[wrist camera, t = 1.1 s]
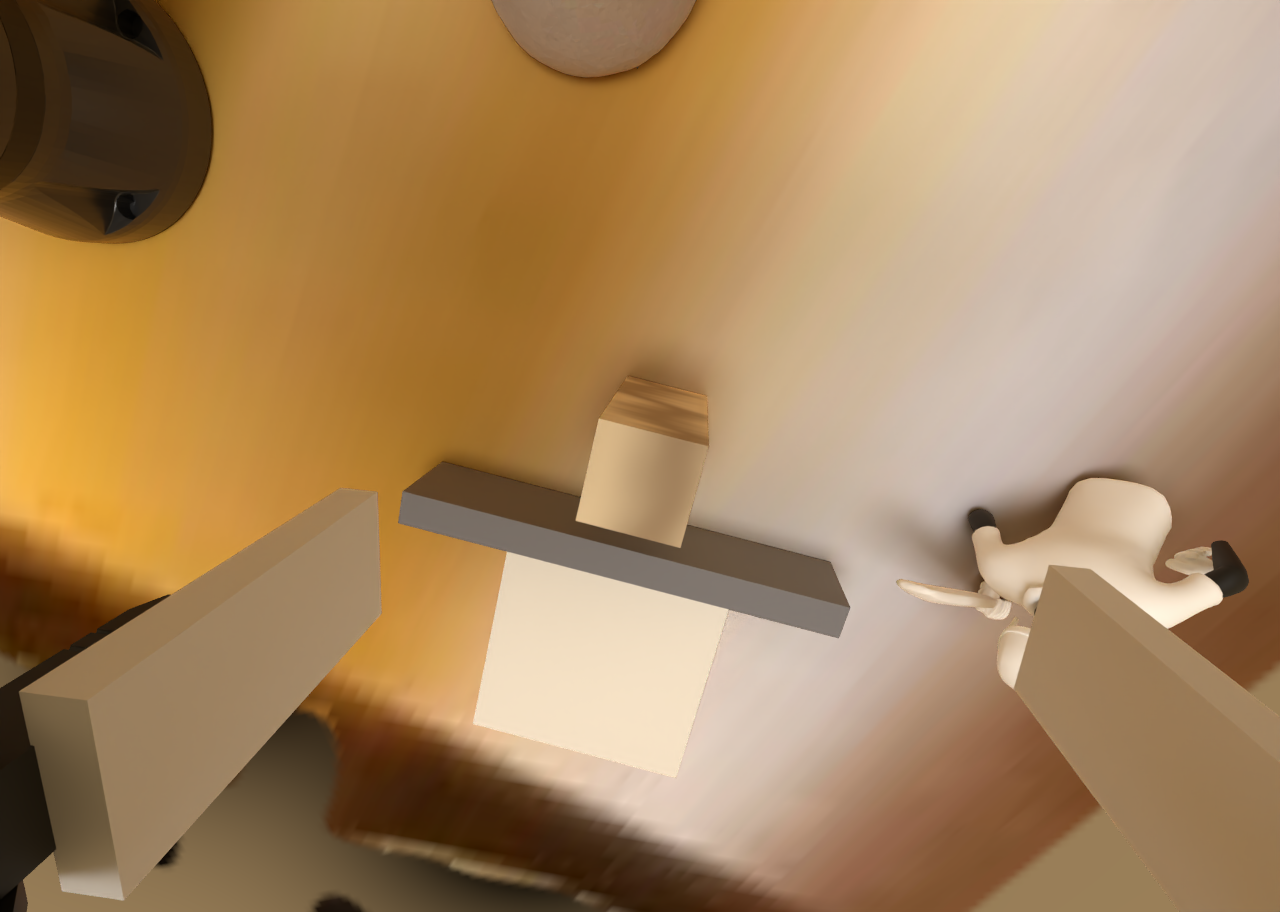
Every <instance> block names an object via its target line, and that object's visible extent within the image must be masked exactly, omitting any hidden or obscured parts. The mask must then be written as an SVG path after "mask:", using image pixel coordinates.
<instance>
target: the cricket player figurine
mask: <svg viewBox="0 0 1280 912" xmlns="http://www.w3.org/2000/svg"><path fill="white" fill-rule="evenodd" d="M969 522H970V525H971V527H972V529H973V531H974V533H973V535H972V541H973V544H974V548H975V553H976V559H977V564H978V568H979V571H980V574H981V576H982V577H983V579H984V580H985V581H983V582H981V585H980V590H978V593H976V592H970V591H964V590H958V589H952V588H946V587H940V586H934V585H928V584H922V583H917V582H913V581H909V580H903V579H899V580H897V581H896V582H897V584H898V586H899V587H900V588H901V589H903V590H904V591H905V592H907V593H909V594H911V595H914V596H916V597H918V598H920V599H923V600H925V601H928V602H932V603H937V604H946V605H955V606H966V607H975V608H976V610H978V611H980V612H982V613H983V614H984V615H985V616H986V617H988V618H992V619H997V620H999V619H1004V618H1006V617H1007V616H1008V614H1009V612H1010V609H1011V602H1014V603H1016V604H1018V605H1021V606H1023V607H1024V608H1025V609H1026V611H1027V612H1029V613H1030V614H1031V615H1032V616H1033V617H1034V615H1035V612H1036V608H1037V605H1038V601H1039V598H1040V594H1041V591H1042V587H1043V584H1044V580H1045V577H1046V573H1047V570H1048V566H1049V565H1058V566H1068V567H1077V568H1086V569H1091V570H1093V571H1094V572H1095V573H1096V574H1098V575H1099V576H1100V577H1102V578H1103V579H1104V580H1105V581H1107V582H1108V583H1109V584H1110V585H1112V586H1113V587H1114V588H1116V589H1117V590H1118V591H1119V592H1121V593H1122V594H1123V595H1125V596H1126V597H1127V598H1128V599H1130V600H1131V601H1132V602H1134V603H1135V604H1136V605H1137V606H1139V607H1140V608H1141V609H1143V610H1144V611H1145V612H1146V613H1148V614H1149V615H1150V616H1151V617H1153V618H1154V619H1155V620H1157V621H1158V622H1159V623H1160V624H1162V625H1163V626H1164V627H1166V628H1167V629H1168V628H1170V627H1173V626H1174V625H1176V624H1178V623H1180V622H1182V621H1184V620H1186V619H1188V618H1189V617H1191V616H1193V615H1195V614H1197V613H1199V612H1201V611H1203V610H1205V609H1207V608H1209V607H1212V606H1214V605H1218V604H1219V603H1220V602H1221V601H1222V599H1223V598H1224V597H1228V596H1231V595H1234V594H1237V593H1239V592H1241V591H1243V590H1244V589H1245V588H1246V587H1247V586H1248V583H1249V579H1248V575H1247V571H1246V569H1245V567H1244V566H1243V564H1242V563H1241V561H1240V559H1239V558H1238V556H1237V555H1236V554H1235V552H1234V551H1233V549H1232V548H1231V546H1230V545H1229V544H1228V542H1226V541H1215V542H1213V543H1212V544H1211V548H1209V547H1200V548H1195V549H1190V550H1186V551H1184V552H1179V553H1177V554H1175V555H1174V558H1175V559H1169V560H1167V562H1166V566H1167V567H1168V568H1171V569H1173V570H1176V571H1178V572H1181V573H1184V574H1187V575H1189V576H1188V577H1187V578H1185V579H1183V580H1182V581H1179V582H1176V583H1171V584H1168V583H1163V582H1160V581H1157V580H1155V578H1154V574H1153V565H1154V563H1155V561H1156V558H1157V556H1158V554H1159V551H1160V549H1161V547H1162V545H1163V543H1164V541H1165V538H1166V535H1167V534H1168V532H1169V531H1170V529H1171V526H1172V515H1171V510H1170V507H1169V505H1168V503H1167V501H1166V499H1165V497H1164V496H1163V495H1162V494H1160V493H1159V492H1157V491H1156V490H1155V489H1153V488H1151V487H1148V486H1145V485H1142V484H1139V483H1134V482H1128V481H1123V480H1116V479H1108V478H1089V479H1086V480H1082V481H1079V482H1077V483H1076V484H1075V485H1074V486H1073V488H1072V489H1071V490H1070V491H1069V493H1068V496H1067V498H1066V500H1065V502H1064V504H1063V506H1062V508H1061V510H1060V512H1059V513H1058V515H1057V517H1056V518H1055V520H1054V523H1053V524H1052V525H1051V527H1050V528H1048V529H1046V530H1044V531H1042V532H1041V533H1040V534H1038V535H1036V536H1033V537H1030V538H1027V539H1026V540H1024V541H1022V542H1019V543H1015V544H1010V545H1005V544H1003V543H1002V540H1001V537H1000V532H999V530H998V529H997V528H996V524H995V520H994V517H993V515H992V514H991V513H990V512H988V511H986V510H976V511H974V512H972V513H971V514H970V515H969ZM1211 555H1212V560H1210V559H1209V558H1207V557H1206V556H1211ZM1000 596H1001V597H1003V598H1004V599H1006V600H1001V599H1000ZM1007 600H1009V601H1011V602H1009V601H1007ZM1018 622H1019V619H1018V618H1017V617H1014V619H1013V620H1012V622H1011V623H1010V625H1009V627H1007V628H1005V629H1004V630H1003V632H1002V634H1001V636H1000V637H999V640H998V646H997V649H998V655H997V669H998V672H999V675H1000V677H1001V678H1002V680H1003V681H1004V682H1005V683H1006V684H1007V685H1008V686H1010V687H1011V688H1012V689H1014V686H1015V682H1016V679H1017V675H1018V672H1019V668H1020V665H1021V661H1022V658H1023V654H1024V651H1025V647H1026V644H1027V640H1028V637H1029V633H1030V630H1031V628H1027V627H1023V626H1017V624H1018Z"/></svg>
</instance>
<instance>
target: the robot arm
mask: <svg viewBox="0 0 1280 912" xmlns="http://www.w3.org/2000/svg"><path fill="white" fill-rule="evenodd" d="M211 133H212V128H211V114H210V107H209V101H208V96H207V92H206V88H205V84H204V81H203V78H202V75H201V72H200V69H199V67H198V64H197V62H196V60H195V57H194V55H193V53H192V51H191V49H190V47H189V45H188V44H187V42H186V40H185V38H184V37H183V35H182V34H181V32H180V31H179V29H178V28H177V26H176V25H175V23H174V22H173V21H172V19H171V18H170V17H169V16H168V14H167V13H166V12H165V11H164V10H163V9H162V8H161V6H160V5H159V4H158V3H157V2H156V1H155V0H0V216H1V217H3V218H6V219H8V220H11V221H14V222H16V223H19V224H21V225H24V226H26V227H29V228H31V229H34V230H36V231H39V232H42V233H44V234H47V235H50V236H54V237H58V238H62V239H67V240H72V241H79V242H96V243H128V242H135V241H139V240H143V239H146V238H149V237H151V236H154V235H156V234H158V233H160V232H161V231H163V230H165V229H166V228H168V227H169V226H171V225H172V224H173V223H174V222H176V221H177V220H178V219H179V218H180V217H181V216H182V215H183V214H184V212H185V211H186V210H187V209H188V207H189V206H190V205H191V203H192V202H193V200H194V199H195V197H196V195H197V193H198V191H199V189H200V187H201V185H202V182H203V180H204V177H205V174H206V170H207V167H208V162H209V157H210V150H211ZM381 614H382V611H381V581H380V550H379V520H378V492H375V491H365V490H356V489H347V488H340V489H338V490H336V491H335V492H333V493H332V494H330V495H329V496H327V497H325V498H324V499H322V500H321V501H319V502H317V503H316V504H314V505H313V506H311V507H310V508H308V509H306V510H305V511H303V512H302V513H300V514H299V515H297V516H295V517H294V518H292V519H291V520H289V521H287V522H286V523H284V524H283V525H281V526H280V527H278V528H276V529H275V530H273V531H272V532H270V533H269V534H267V535H265V536H264V537H262V538H261V539H259V540H257V541H256V542H254V543H253V544H251V545H250V546H248V547H246V548H245V549H243V550H242V551H240V552H238V553H237V554H235V555H234V556H232V557H231V558H229V559H227V560H226V561H224V562H223V563H221V564H220V565H218V566H216V567H215V568H213V569H212V570H210V571H208V572H207V573H205V574H204V575H202V576H201V577H199V578H197V579H196V580H194V581H193V582H191V583H189V584H188V585H186V586H185V587H183V588H182V589H180V590H178V591H177V592H175V593H174V594H172V595H166V596H163V597H161V598H158V599H155V600H153V601H150V602H147V603H145V604H142V605H139V606H137V607H134V608H131V609H129V610H127V611H126V612H124V613H122V614H121V615H119V616H117V617H116V618H114V619H113V620H111V621H109V622H108V623H106V624H104V625H103V626H101V627H99V628H98V629H97V632H96V633H90V634H88V635H86V636H85V637H83V638H81V639H80V640H78V641H77V642H75V643H73V644H72V645H71V647H70V649H69V650H65V649H63V650H62V651H60V652H59V653H57V654H55V655H54V656H52V657H50V658H49V659H47V660H45V661H44V662H42V663H41V664H39V665H37V666H36V667H34V668H32V669H31V670H29V671H27V672H26V673H24V674H23V675H21V676H19V677H18V678H16V679H14V680H13V681H11V682H10V683H8V684H6V685H5V686H3V687H1V688H0V912H26V911H27V904H28V902H27V897H26V892H25V887H24V883H23V879H24V878H25V877H26V876H27V875H28V874H30V873H31V872H32V871H33V870H34V869H35V868H36V867H37V866H38V865H39V864H40V863H42V862H43V861H44V860H45V859H46V858H47V857H48V856H49V855H50V854H51V853H52V852H54V856H55V861H56V865H57V870H58V875H59V879H60V884H61V888H62V891H63V892H70V893H78V894H84V895H91V896H98V897H104V898H111V899H118V900H125V899H126V897H127V896H128V895H129V894H130V893H131V892H132V891H133V890H134V889H135V887H136V886H137V885H138V884H139V883H140V882H141V881H142V880H143V878H144V877H145V876H146V875H147V874H148V873H149V872H150V871H151V870H152V868H153V867H154V866H155V865H156V864H157V863H158V862H159V861H160V860H161V858H162V857H163V856H164V855H165V854H166V853H167V852H168V851H169V850H170V848H171V847H172V846H173V845H174V844H175V843H176V842H177V841H178V840H179V838H180V837H181V836H182V835H183V834H184V833H185V832H186V831H187V830H188V828H189V827H190V826H191V825H192V824H193V823H194V822H195V821H196V820H197V818H198V817H199V816H200V815H201V814H202V813H203V812H204V811H205V810H206V808H207V807H208V806H209V805H210V804H211V803H212V802H213V801H214V799H215V798H216V797H217V796H218V795H219V794H220V793H221V792H222V791H223V789H224V788H225V787H226V786H227V785H228V784H229V783H230V782H231V781H232V779H233V778H234V777H235V776H236V775H237V774H238V773H239V772H240V771H241V769H242V768H243V767H244V766H245V765H246V764H247V763H248V762H249V761H250V759H251V758H252V757H253V756H254V755H255V754H256V753H257V751H259V749H260V748H261V747H262V746H263V745H264V744H265V743H266V742H267V740H268V739H269V738H270V737H271V736H272V735H273V734H274V733H275V732H276V730H277V729H278V728H279V727H280V726H281V725H282V724H283V723H284V722H285V720H286V719H287V718H288V717H289V716H290V715H291V714H292V713H293V712H294V710H295V709H296V708H297V707H298V706H299V705H300V704H301V703H302V702H303V700H304V699H305V698H306V697H307V696H308V695H309V694H310V693H311V692H312V690H313V689H314V688H315V687H316V686H317V685H318V684H319V683H320V682H321V680H322V679H323V678H324V677H325V676H326V675H327V674H328V673H329V672H330V670H331V669H332V668H333V667H334V666H335V665H336V664H337V663H338V662H339V660H340V659H341V658H342V657H343V656H344V655H345V654H346V653H347V651H348V650H349V649H350V648H351V647H352V646H353V645H354V644H355V643H356V641H357V640H358V639H359V638H360V637H361V636H362V635H363V634H364V633H365V631H366V630H367V629H368V628H369V627H370V626H371V625H372V624H373V623H374V621H375V620H376V619H377V618H378V617H379V616H380V615H381ZM1014 690H1015V691H1016V692H1017V694H1018V695H1019V696H1020V698H1021V699H1022V700H1023V702H1024V703H1025V704H1026V706H1027V707H1028V709H1029V710H1030V711H1031V713H1032V714H1033V715H1034V717H1035V718H1036V719H1037V721H1038V722H1039V723H1040V725H1041V726H1042V727H1043V729H1044V730H1045V731H1046V733H1047V734H1048V735H1049V737H1050V738H1051V740H1052V741H1053V742H1054V744H1055V745H1056V746H1057V748H1058V749H1059V750H1060V752H1061V753H1062V754H1063V756H1064V757H1065V758H1066V760H1067V761H1068V762H1069V764H1070V765H1071V766H1072V768H1073V769H1074V771H1075V772H1076V773H1077V775H1078V776H1079V777H1080V779H1081V780H1082V781H1083V783H1084V784H1085V785H1086V787H1087V788H1088V789H1089V791H1090V792H1091V793H1092V795H1093V796H1094V797H1095V799H1096V800H1097V802H1098V803H1099V804H1100V806H1101V807H1102V808H1103V810H1104V811H1105V812H1106V814H1107V815H1108V816H1109V818H1110V819H1111V820H1112V822H1113V823H1114V824H1115V826H1116V827H1117V828H1118V830H1119V831H1120V833H1121V834H1122V835H1123V836H1124V838H1125V839H1126V841H1127V842H1128V843H1129V845H1130V846H1131V847H1132V849H1133V850H1134V851H1135V853H1136V854H1137V855H1138V857H1139V858H1140V859H1141V861H1142V862H1143V864H1144V865H1145V866H1146V868H1147V869H1148V870H1149V872H1150V873H1151V874H1152V876H1153V877H1154V878H1155V880H1156V881H1157V882H1158V884H1159V885H1160V886H1161V888H1162V889H1163V890H1164V892H1165V893H1166V895H1167V896H1168V897H1169V899H1170V900H1171V901H1172V903H1173V904H1174V905H1175V907H1176V908H1177V909H1178V910H1179V912H1280V717H1279V716H1278V715H1277V714H1276V713H1275V712H1273V711H1272V710H1271V709H1269V708H1268V707H1267V706H1266V705H1264V704H1263V703H1261V702H1260V701H1259V700H1258V699H1256V698H1255V697H1254V696H1253V695H1251V694H1250V693H1249V692H1248V691H1246V690H1245V689H1244V688H1242V687H1241V686H1240V685H1239V684H1237V683H1236V682H1235V681H1234V680H1232V679H1231V678H1230V677H1228V676H1227V675H1226V674H1225V673H1223V672H1222V671H1221V670H1219V669H1218V668H1217V667H1216V666H1214V665H1213V664H1212V663H1210V662H1209V661H1208V660H1207V659H1205V658H1204V657H1203V656H1201V655H1200V654H1199V653H1198V652H1196V651H1195V650H1194V649H1193V648H1191V647H1190V646H1189V645H1187V644H1186V643H1185V642H1184V641H1182V640H1181V639H1180V638H1178V637H1177V636H1176V635H1175V634H1173V633H1172V632H1171V631H1169V630H1168V629H1167V628H1166V627H1164V626H1163V625H1162V624H1160V623H1159V622H1158V621H1157V620H1155V619H1154V618H1153V617H1151V616H1150V615H1149V614H1148V613H1146V612H1145V611H1144V610H1143V609H1141V608H1140V607H1139V606H1137V605H1136V604H1135V603H1134V602H1132V601H1131V600H1130V599H1128V598H1127V597H1126V596H1125V595H1123V594H1122V593H1121V592H1119V591H1118V590H1117V589H1116V588H1114V587H1113V586H1112V585H1110V584H1109V583H1108V582H1107V581H1105V580H1104V579H1103V578H1102V577H1100V576H1099V575H1098V574H1096V573H1095V572H1094V571H1093V570H1091V569H1086V568H1077V567H1068V566H1058V565H1049V566H1048V570H1047V573H1046V577H1045V580H1044V584H1043V587H1042V591H1041V594H1040V598H1039V601H1038V605H1037V608H1036V612H1035V615H1034V619H1033V623H1032V626H1031V630H1030V633H1029V637H1028V640H1027V644H1026V647H1025V651H1024V654H1023V658H1022V661H1021V665H1020V668H1019V672H1018V675H1017V679H1016V682H1015V686H1014Z"/></svg>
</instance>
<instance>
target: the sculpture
mask: <svg viewBox="0 0 1280 912" xmlns="http://www.w3.org/2000/svg"><path fill="white" fill-rule="evenodd" d="M695 1H696V0H492V2H493V5H494V7H495V9H496V11H497V13H498V15H499V16H500V18H501V19H502V21H503V23H504V24H505V26H506V27H507V29H508V30H509V32H510V33H511V35H512V36H513V38H514V39H515V40H516V42H517V43H518V44H519V45H520V46H521V47H522V48H523V49H524V50H525V51H526V52H527V53H528V54H529V55H530V56H532V57H533V58H535V59H536V60H538V61H539V62H541V63H543V64H545V65H547V66H549V67H550V68H552V69H555V70H557V71H560V72H562V73H565V74H568V75H573V76H579V77H601V76H606V75H611V74H615V73H619V72H622V71H628V70H630V69H632V68H635V67H637V66H638V67H639V66H640V65H641V64H643V63H644V62H646V61H647V60H648V59H650V58H651V57H652V56H653V55H655V54H657V53H658V52H659V51H660V50H661V49H662V48H663V47H664V46H665V45H666V44H667V43H668V42H669V40H670V39H671V38H672V37H673V36H674V35H675V34H676V32H677V31H678V30H679V29H680V27H681V25H682V24H683V23H684V22H685V20H686V19H687V17H688V16H689V14H690V12H691V10H692V8H693V6H694V4H695ZM638 67H637V68H638Z"/></svg>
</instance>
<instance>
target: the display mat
mask: <svg viewBox="0 0 1280 912" xmlns="http://www.w3.org/2000/svg"><path fill="white" fill-rule="evenodd" d="M728 611H729V609H725V608H721V607H717V606H713V605H710V604H706V603H702V602H698V601H694V600H690V599H687V598H683V597H679V596H675V595H671V594H667V593H664V592H660V591H656V590H652V589H648V588H645V587H641V586H637V585H633V584H629V583H625V582H622V581H618V580H614V579H610V578H606V577H602V576H599V575H595V574H591V573H587V572H583V571H579V570H576V569H572V568H568V567H564V566H560V565H557V564H553V563H549V562H545V561H541V560H537V559H534V558H530V557H526V556H522V555H518V554H514V553H511V552H507V554H506V559H505V565H504V570H503V575H502V580H501V585H500V590H499V595H498V600H497V605H496V610H495V615H494V620H493V625H492V630H491V635H490V640H489V645H488V650H487V655H486V660H485V666H484V671H483V676H482V681H481V686H480V691H479V696H478V701H477V706H476V711H475V716H474V721H473V724H475V725H479V726H482V727H486V728H490V729H494V730H497V731H501V732H505V733H509V734H512V735H516V736H520V737H524V738H527V739H531V740H535V741H539V742H542V743H546V744H550V745H554V746H557V747H561V748H565V749H569V750H572V751H576V752H580V753H583V754H587V755H591V756H595V757H598V758H602V759H606V760H610V761H613V762H617V763H621V764H625V765H628V766H632V767H636V768H640V769H643V770H647V771H651V772H655V773H658V774H662V775H666V776H670V777H673V778H676V776H677V773H678V770H679V767H680V763H681V760H682V757H683V754H684V751H685V748H686V744H687V741H688V738H689V735H690V732H691V729H692V725H693V722H694V719H695V716H696V713H697V709H698V706H699V703H700V700H701V697H702V694H703V690H704V687H705V684H706V681H707V678H708V674H709V671H710V668H711V665H712V662H713V659H714V655H715V652H716V649H717V646H718V643H719V640H720V636H721V633H722V630H723V627H724V624H725V620H726V617H727V614H728Z"/></svg>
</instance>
